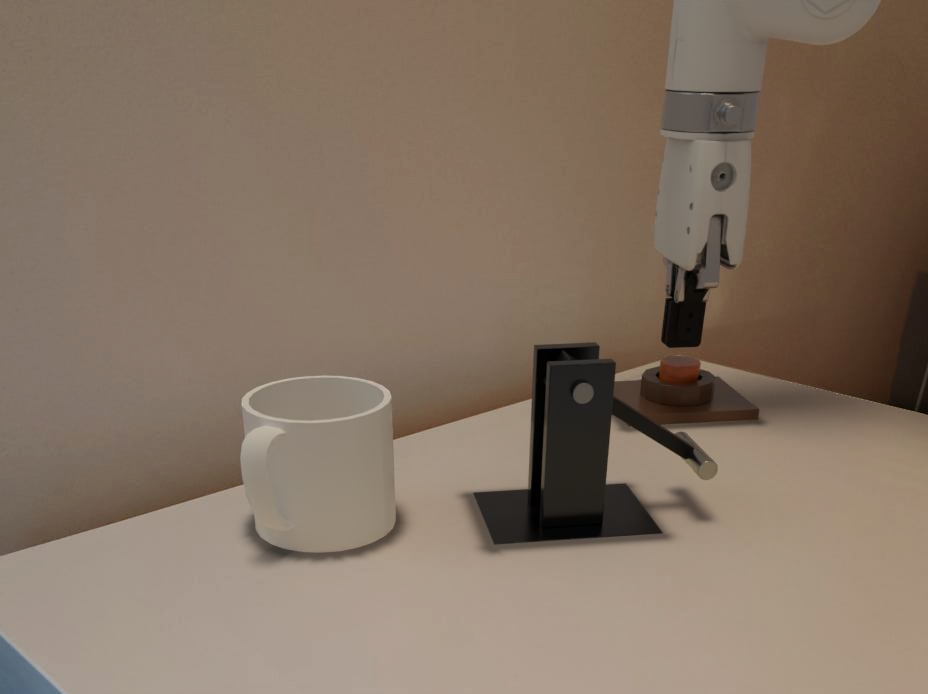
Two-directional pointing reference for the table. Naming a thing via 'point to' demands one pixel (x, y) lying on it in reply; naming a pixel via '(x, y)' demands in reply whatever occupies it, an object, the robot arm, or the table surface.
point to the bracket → (567, 458)
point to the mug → (319, 462)
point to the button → (679, 369)
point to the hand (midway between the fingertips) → (680, 344)
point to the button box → (685, 399)
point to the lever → (661, 435)
